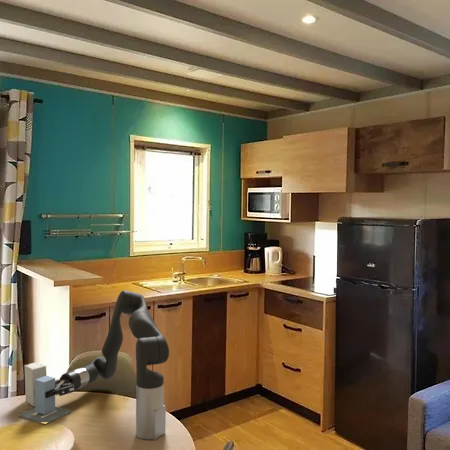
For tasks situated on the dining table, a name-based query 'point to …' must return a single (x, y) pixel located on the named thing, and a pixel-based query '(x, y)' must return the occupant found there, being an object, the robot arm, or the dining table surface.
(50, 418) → the letter mat
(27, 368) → the skincare box
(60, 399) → the dining table surface
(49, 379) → the blue block
